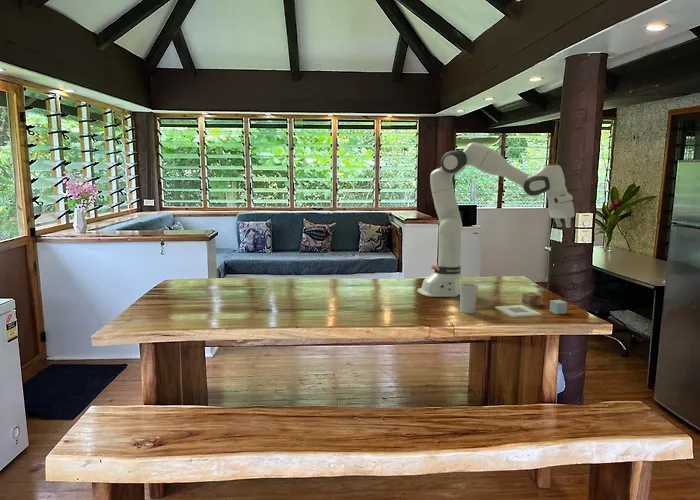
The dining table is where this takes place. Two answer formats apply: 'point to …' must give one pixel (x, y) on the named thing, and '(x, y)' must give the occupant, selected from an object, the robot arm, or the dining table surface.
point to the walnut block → (531, 299)
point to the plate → (517, 311)
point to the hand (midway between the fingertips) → (564, 227)
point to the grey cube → (558, 306)
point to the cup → (468, 297)
